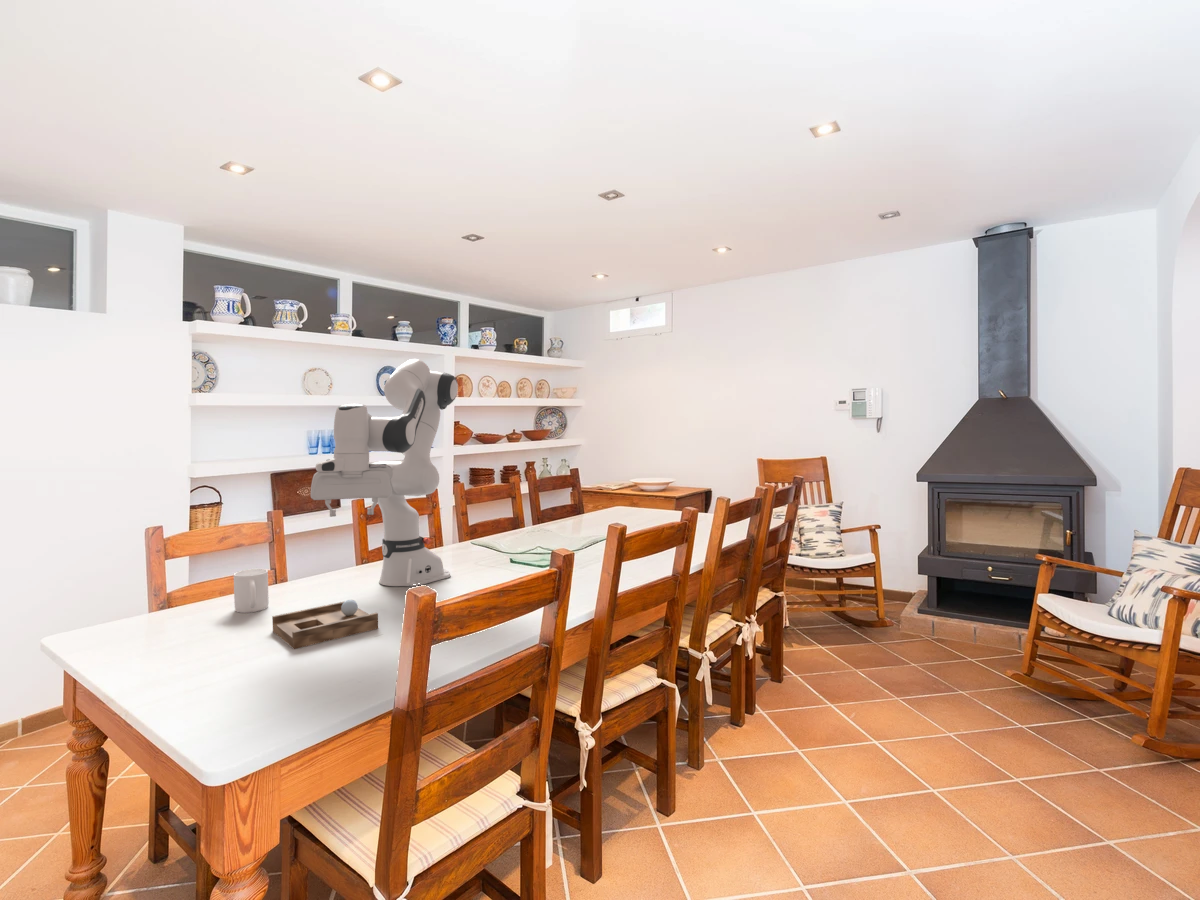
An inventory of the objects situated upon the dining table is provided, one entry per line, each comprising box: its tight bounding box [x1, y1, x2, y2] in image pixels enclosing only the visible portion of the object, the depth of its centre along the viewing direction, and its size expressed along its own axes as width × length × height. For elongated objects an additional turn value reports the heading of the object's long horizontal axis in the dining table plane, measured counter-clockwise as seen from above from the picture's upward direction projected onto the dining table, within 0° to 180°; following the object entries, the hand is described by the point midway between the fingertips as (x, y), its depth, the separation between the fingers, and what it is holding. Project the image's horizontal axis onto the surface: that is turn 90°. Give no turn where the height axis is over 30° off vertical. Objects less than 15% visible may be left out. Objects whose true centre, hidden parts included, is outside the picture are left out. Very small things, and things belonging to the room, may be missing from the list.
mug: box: [233, 568, 270, 614], centre depth 170 cm, size 12×8×10 cm
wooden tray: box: [271, 600, 379, 650], centre depth 155 cm, size 20×16×4 cm
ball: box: [341, 599, 359, 616], centre depth 159 cm, size 4×4×4 cm
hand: (351, 515), depth 166 cm, fingers open, 8 cm apart
